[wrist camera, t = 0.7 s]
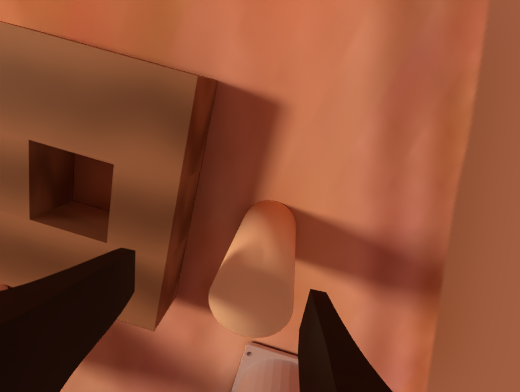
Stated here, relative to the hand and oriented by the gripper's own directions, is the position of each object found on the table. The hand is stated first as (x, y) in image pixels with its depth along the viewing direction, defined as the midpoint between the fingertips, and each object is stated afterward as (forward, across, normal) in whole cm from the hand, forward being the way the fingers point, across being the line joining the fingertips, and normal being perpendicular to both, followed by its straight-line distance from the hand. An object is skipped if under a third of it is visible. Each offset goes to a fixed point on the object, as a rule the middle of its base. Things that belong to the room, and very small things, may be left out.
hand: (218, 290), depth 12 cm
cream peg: (+11, -1, +2) cm, 11 cm away
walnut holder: (+11, +12, +1) cm, 16 cm away
